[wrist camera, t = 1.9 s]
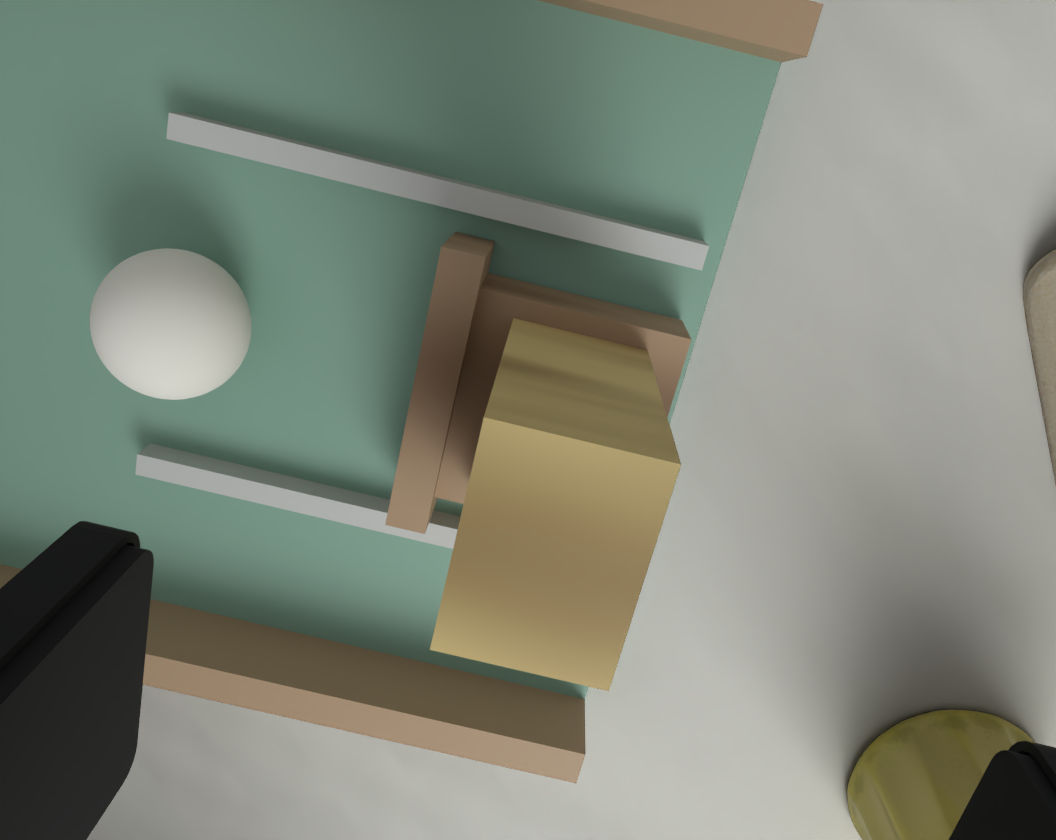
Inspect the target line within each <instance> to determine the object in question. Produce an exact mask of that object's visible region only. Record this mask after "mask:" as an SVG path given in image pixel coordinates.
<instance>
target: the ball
mask: <svg viewBox="0 0 1056 840" xmlns="http://www.w3.org/2000/svg"><path fill="white" fill-rule="evenodd" d="M251 330H252V323H251V314H250V309H249V306H248V303H247V300H246V298H245V296H244V294H243V292H242V290H241V288H240V287H239V285H238V284H237V282H236V281H235V280H234V279H233V277H232V276H231V275H230V274H229V273H228V272H227V271H226V270H225V269H223V268H222V267H221V266H219V265H218V264H217V263H215V262H213V261H212V260H210V259H208V258H206V257H204V256H202V255H200V254H197V253H194V252H191V251H186V250H181V249H170V248H163V249H154V250H149V251H145V252H141V253H139V254H136V255H134V256H131V257H129V258H128V259H126V260H124V261H122V262H121V263H120V264H118V265H117V266H116V267H115V268H113V269H112V270H111V271H110V272H109V273H108V275H107V276H106V277H105V278H104V279H103V281H102V282H101V284H100V285H99V287H98V289H97V291H96V293H95V296H94V298H93V301H92V305H91V311H90V332H91V337H92V341H93V345H94V347H95V350H96V352H97V354H98V356H99V358H100V359H101V361H102V362H103V364H104V365H105V367H106V368H107V369H108V370H109V371H110V373H111V374H112V375H113V376H114V377H116V378H117V379H118V380H119V381H120V382H122V383H123V384H124V385H126V386H127V387H129V388H131V389H133V390H135V391H137V392H139V393H141V394H144V395H147V396H150V397H154V398H159V399H169V400H180V399H188V398H193V397H197V396H200V395H203V394H206V393H208V392H210V391H212V390H214V389H216V388H217V387H219V386H221V385H222V384H223V383H225V382H226V381H227V380H228V379H229V378H230V377H231V376H232V375H233V374H234V373H235V372H236V371H237V369H238V368H239V367H240V365H241V363H242V362H243V360H244V358H245V356H246V354H247V351H248V348H249V345H250V340H251Z"/></svg>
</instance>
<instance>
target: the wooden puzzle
mask: <svg viewBox="0 0 1056 840" xmlns="http://www.w3.org/2000/svg"><path fill="white" fill-rule="evenodd" d="M1023 302H1024V309H1025V316H1026V323H1027V329H1028V335H1029V340H1030V346H1031V351H1032V357H1033V362H1034V368H1035V373H1036V379H1037V384H1038V390H1039V395H1040V401H1041V406H1042V412H1043V417H1044V423H1045V428H1046V434H1047V439H1048V445H1049V450H1050V456H1051V461H1052V467H1053V472H1054V478H1055V483H1056V249H1055V250H1053V251H1052V252H1050V253H1048V254H1047V255H1046V256H1044V257H1043V258H1042V259H1040V260H1039V261H1038V262H1037V263H1036V264H1035V265H1034V266H1033V267H1032V268H1031V270H1030V271H1029V272H1028V274H1027V276H1026V278H1025V282H1024V286H1023Z"/></svg>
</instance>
